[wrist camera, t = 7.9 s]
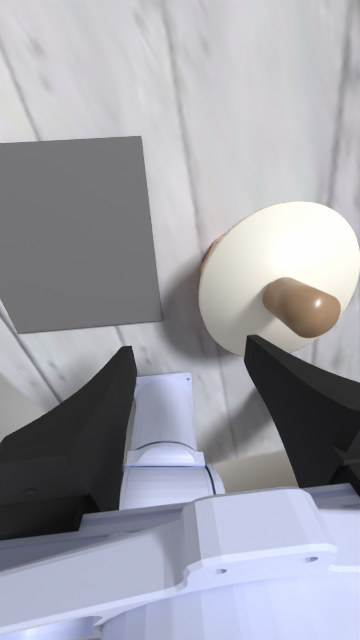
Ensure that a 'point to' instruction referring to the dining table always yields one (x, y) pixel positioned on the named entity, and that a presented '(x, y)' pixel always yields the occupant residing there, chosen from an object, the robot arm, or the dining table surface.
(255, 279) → the lid
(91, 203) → the mat
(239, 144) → the dining table surface
